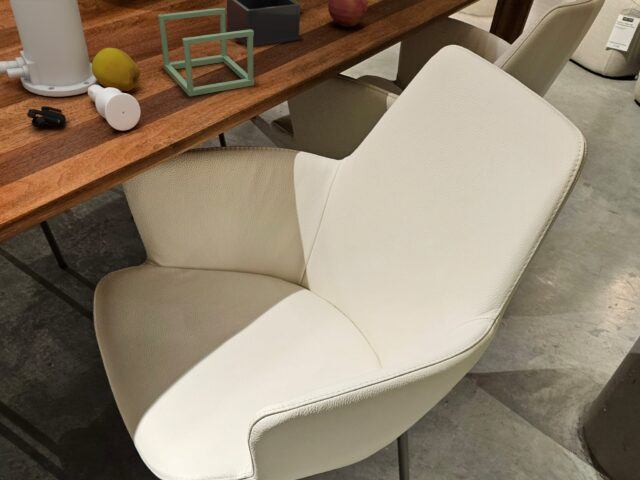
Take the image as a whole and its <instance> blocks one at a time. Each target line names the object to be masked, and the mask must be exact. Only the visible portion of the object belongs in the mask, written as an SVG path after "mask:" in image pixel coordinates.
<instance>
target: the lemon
mask: <svg viewBox="0 0 640 480" xmlns="http://www.w3.org/2000/svg"><path fill="white" fill-rule="evenodd" d="M91 63H92V72H93V75H94V76H95V78H96V79H97V81H98V82H99V83H100V84H99V85H102V86H103V88H109V87H111V88H116V89H118V90H120V91H121V92H129V91H132V90H133V89H135V87H136V86H137V85H138V84H139V80H140V76H141V70H140V68H139V67H138V65H137V64H136V63H135V61H134V60H133V59H132V57H130V55H128V53H126V52H125V51H123V50H121V49H120V48H116V47H105V48H103V49H101V50H100V51H98V52H97V53H96V55H95V56H94V57H93V59H92V62H91Z"/></svg>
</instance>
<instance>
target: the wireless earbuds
mask: <svg viewBox="0 0 640 480" xmlns="http://www.w3.org/2000/svg"><path fill="white" fill-rule="evenodd" d="M26 116H27V117H28V118H30V119H32V120H31V124H32V126H33V127H34V128H35V129H41V128H42V127H43V126H44V124H45V125H49V126H53V127H57V128H62V127H64V126H65V124H66V120H67V119H66V115H64V114H63V109H60V108H55V107H52V106H47V105H41V107H40V109H37V108H36V109H35V108H29V109H28V111H27V113H26Z"/></svg>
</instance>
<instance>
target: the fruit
mask: <svg viewBox="0 0 640 480" xmlns="http://www.w3.org/2000/svg"><path fill="white" fill-rule="evenodd" d="M368 6H369V5H368V0H328V4H327V7H328V8H327V9H328V10H327V11H328V13H329V16H330V17H331V18H332V20H333V21H334V22H335V23H336V24H338V25H340V26H341V27H344V28H349V27H353V26H356V25H358V24H359V23H360V22H361V21H362V20H363V19H364V17H365V16H366V13H367V10H368Z"/></svg>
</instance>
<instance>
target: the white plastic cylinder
mask: <svg viewBox="0 0 640 480" xmlns="http://www.w3.org/2000/svg"><path fill="white" fill-rule="evenodd" d="M87 95H88V97H89V99H91V101H93V103H95V109H96V111H97V113H98V114H99V116H101V117H102V118H104V119H105V120H106V122H107V123H108V125H109V126H110V127H112V128H113V129H115V130H117V131H128V130H131V129H133V128H134V127H135V126H137V124H138V122H139V121H140V119H141V112H142V111H141V106H140V104H139V102H138V100H137V99H136V97H134V96H133V95H131V94H129V93H125V92H123V91H120V90H118V89H116V88H111V87H109V88H106V87H102V86H101V85H100V84H99V85H92V86H90V87H89V88H88V92H87Z"/></svg>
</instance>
